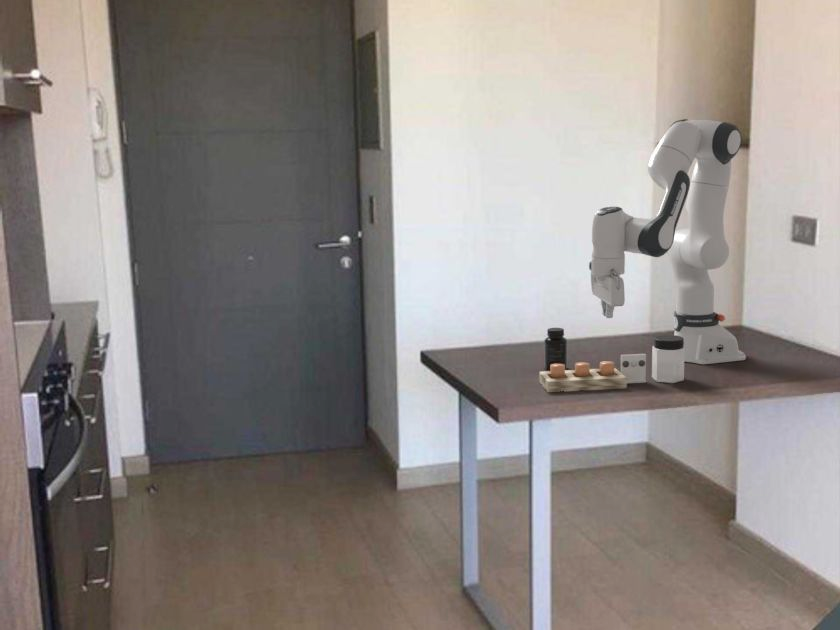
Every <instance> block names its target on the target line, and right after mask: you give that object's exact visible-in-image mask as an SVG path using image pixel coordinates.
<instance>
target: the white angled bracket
mask: <svg viewBox="0 0 840 630" xmlns="http://www.w3.org/2000/svg"><path fill="white" fill-rule="evenodd" d="M620 372H621V373H622V374H623V375H624V376H625V377H627V384H642V383H647V380H646V379H647V377H646V376H647V374H646V373H647V354H646V353H636V354H632V353H631V354H620Z"/></svg>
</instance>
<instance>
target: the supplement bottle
mask: <svg viewBox="0 0 840 630" xmlns="http://www.w3.org/2000/svg"><path fill="white" fill-rule="evenodd" d="M564 330H565V329H564V328H562V327H549V328H547V331H546V332H547V334H546V336H547V337H546V338H545V339H544V341H543V349H544V350H543V351H544V352H543V354H544V355H543V356H544V357H543V358H544V359H543V360H544V361H543V362H544V363H543V365H544V368H545V370H546V371H550V365H551V364H564V365H565V370H567V368H568V340H567V338H566V337H564V336H565V331H564Z"/></svg>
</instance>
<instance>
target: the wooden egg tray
mask: <svg viewBox="0 0 840 630" xmlns="http://www.w3.org/2000/svg"><path fill="white" fill-rule="evenodd" d="M538 373H539V374H538V380H539V381H538V382H539V384H540V385H541V384H542V385H541V386H542V387H543V388H544V390H545V389H546V390H547V391H546V390H545V391H546V392H547V393H560V391H561V392H562V391H564V392H579V391H580V390H583V391H601V390H621V389H627V388H628V383H627V377H625V376H624V375H623V374H622V373H621V370H619V369H617V368H616V367H614V374H613V375H602V374H600V368H590V375H589V376H576V375H575V369H565V377H561V378H554V377H551V376H550V370H545V371H543V370H542V371H539V372H538ZM580 392H581V391H580Z"/></svg>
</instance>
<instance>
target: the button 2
mask: <svg viewBox="0 0 840 630" xmlns="http://www.w3.org/2000/svg"><path fill="white" fill-rule="evenodd" d="M614 368H615V362H614V361H608V360H607V361H606V360H604V361H600V362H599V369H600V374H602V375H613V374H614Z"/></svg>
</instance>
